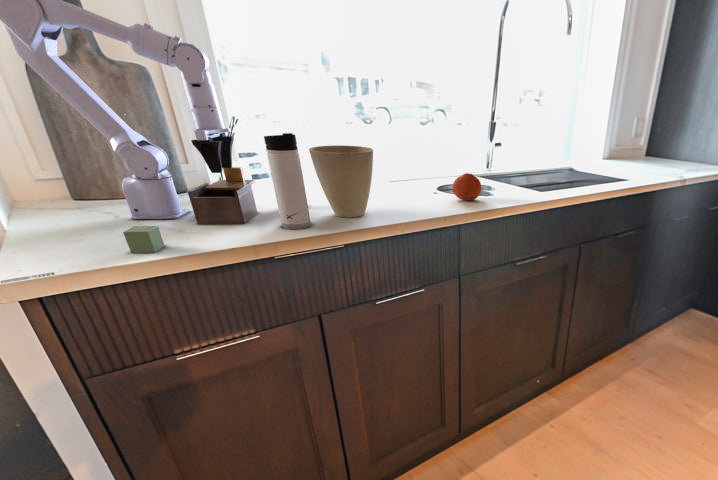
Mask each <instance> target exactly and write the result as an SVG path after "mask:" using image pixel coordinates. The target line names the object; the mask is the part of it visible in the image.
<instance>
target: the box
mask: <svg viewBox="0 0 718 480" xmlns="http://www.w3.org/2000/svg"><path fill="white" fill-rule="evenodd" d="M209 185H210V184H209V182H204V183H203V184H200V185H198V186H196V187H194V188H192V189H190V190H187V195H188V198H189V201H190V205H191V208H192V212H193V215H194V218H195V221H196V224H197V225H236V224H237V225H241V224H242V225H244V224H246V223H247V222H249V221H250V220H251V219H252V218H253V217H254V216H256V215H257V213H258V209H257V204H256V201H255V196H254V192H253V188H252V185H251V183H247V184H246V185H244V186H243V187H241V188H239V189H238V190H205V187H207V186H209Z"/></svg>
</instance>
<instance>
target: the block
mask: <svg viewBox="0 0 718 480" xmlns="http://www.w3.org/2000/svg"><path fill="white" fill-rule="evenodd" d="M122 234H123V236H124V239H125V241H126V244H127V246H128V249H129V251H130V253H131V254H145V253H157V252H158V251H159V250H162V249H163V248H164V247H165V243H164V240H163V237H162V234H161V231H160V229H159V226H158V225H142V226H141V225H139V226H138V225H135V226H132V227H129V228H128V229H126V230H123V232H122Z"/></svg>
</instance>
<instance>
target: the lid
mask: <svg viewBox="0 0 718 480" xmlns="http://www.w3.org/2000/svg"><path fill="white" fill-rule="evenodd" d="M222 171H223V174H224V177H225V178H224V179H219V180H217V181H215V182H213V183H211V184H209V186H207V187H205V190H238V189H239V188H241V187H243V186H244V185H246V184H247V183H251V186H252V185H253V184H255V183H256V180H255V179H245V175H244V171H243V167H240V166H239V167H238V166H235V167H234V166H232V168H222Z"/></svg>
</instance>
